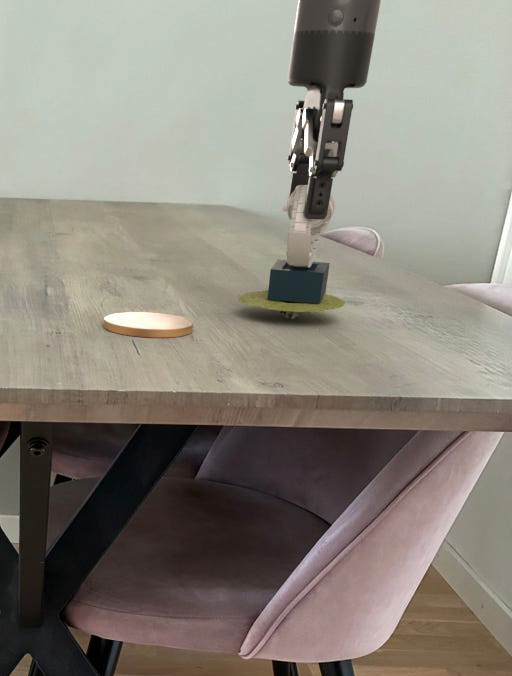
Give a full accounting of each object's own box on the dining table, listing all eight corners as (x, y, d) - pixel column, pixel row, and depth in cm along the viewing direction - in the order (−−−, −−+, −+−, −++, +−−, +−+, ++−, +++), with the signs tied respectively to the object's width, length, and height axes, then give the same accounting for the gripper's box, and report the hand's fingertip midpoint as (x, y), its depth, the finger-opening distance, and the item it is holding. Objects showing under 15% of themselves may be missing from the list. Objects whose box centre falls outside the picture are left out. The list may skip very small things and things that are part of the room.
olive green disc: (348, 331, 98) (351, 311, 97) (237, 327, 100) (239, 307, 99) (335, 309, 108) (338, 291, 107) (235, 305, 109) (236, 287, 108)
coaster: (187, 321, 100) (188, 313, 100) (197, 339, 92) (198, 331, 92) (102, 318, 100) (102, 310, 100) (104, 335, 92) (105, 327, 92)
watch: (328, 287, 106) (343, 179, 99) (317, 308, 100) (333, 194, 93) (277, 284, 107) (289, 177, 101) (263, 304, 101) (275, 191, 95)
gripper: (396, 25, 85) (359, 223, 93) (354, 36, 97) (325, 210, 105) (311, 22, 85) (282, 220, 93) (281, 33, 97) (257, 207, 105)
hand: (305, 215), depth 99 cm, fingers closed on watch, 8 cm apart
